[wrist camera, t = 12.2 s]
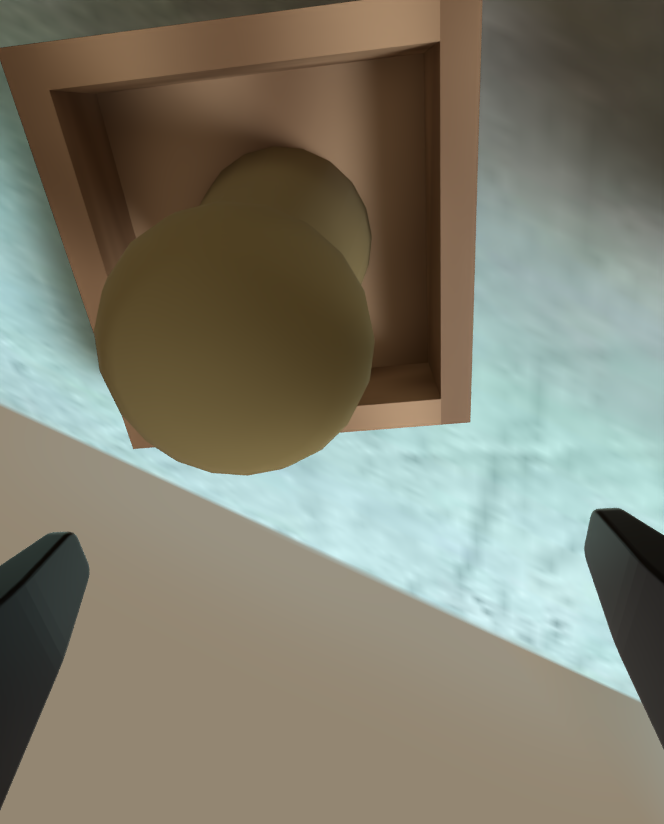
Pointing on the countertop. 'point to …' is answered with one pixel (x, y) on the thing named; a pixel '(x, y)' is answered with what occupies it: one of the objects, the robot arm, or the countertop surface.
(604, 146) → the countertop surface
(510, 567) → the countertop surface
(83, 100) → the box
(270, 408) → the cork
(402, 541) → the countertop surface
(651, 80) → the countertop surface
